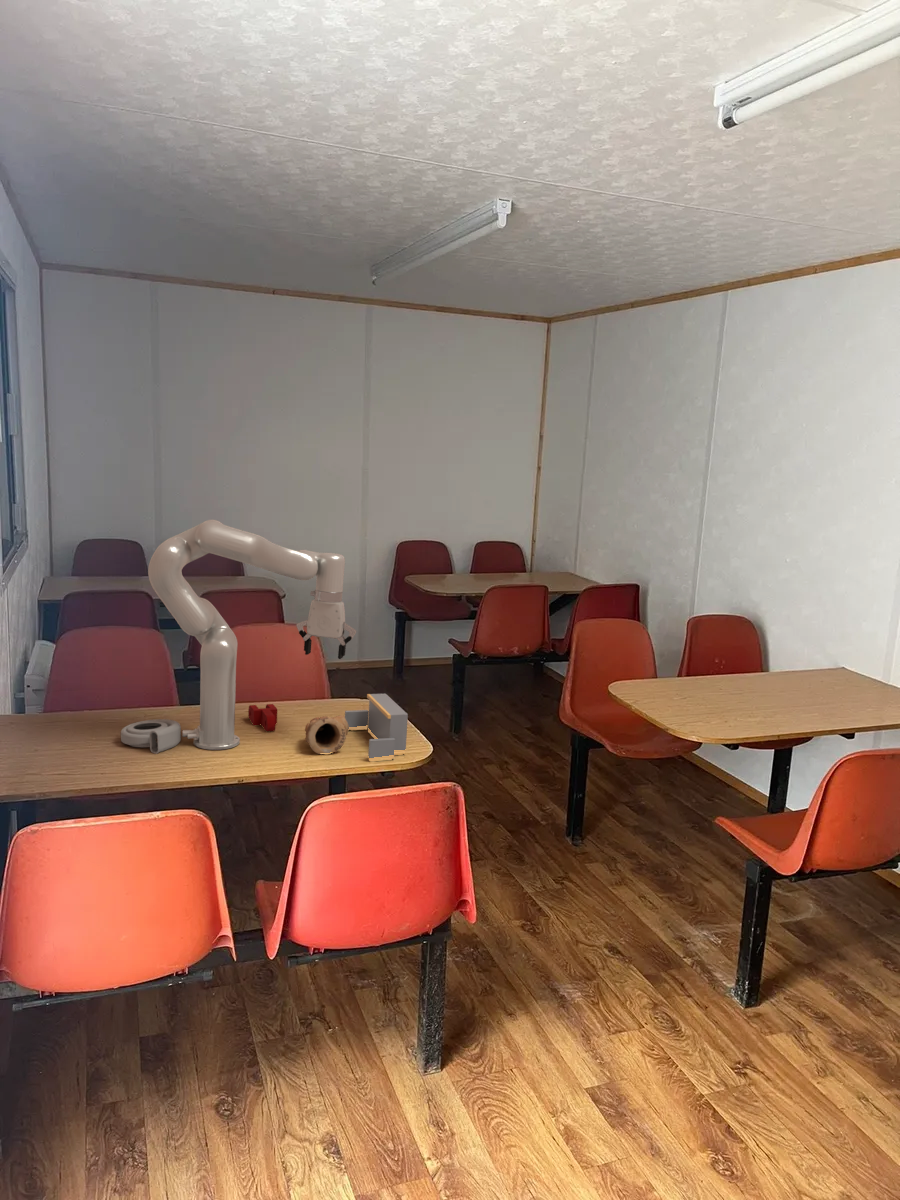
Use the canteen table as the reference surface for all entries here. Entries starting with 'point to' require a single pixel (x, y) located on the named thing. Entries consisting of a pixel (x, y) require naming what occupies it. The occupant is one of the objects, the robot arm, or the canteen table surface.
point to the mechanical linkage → (263, 716)
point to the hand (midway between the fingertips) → (324, 655)
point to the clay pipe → (326, 733)
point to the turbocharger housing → (152, 734)
